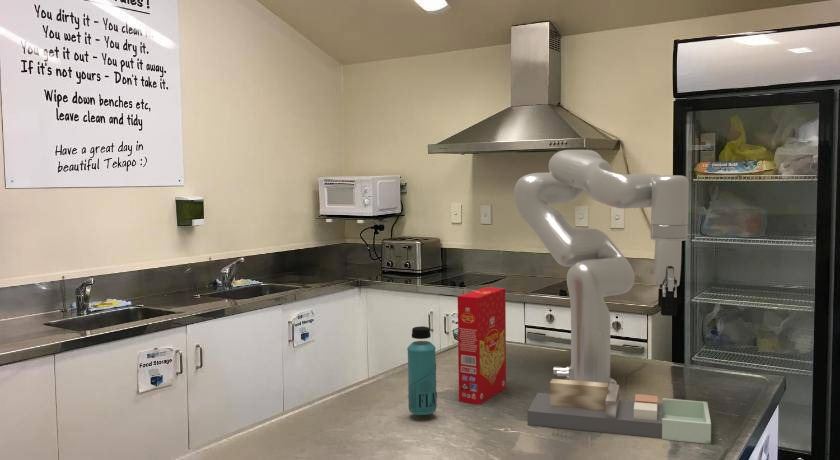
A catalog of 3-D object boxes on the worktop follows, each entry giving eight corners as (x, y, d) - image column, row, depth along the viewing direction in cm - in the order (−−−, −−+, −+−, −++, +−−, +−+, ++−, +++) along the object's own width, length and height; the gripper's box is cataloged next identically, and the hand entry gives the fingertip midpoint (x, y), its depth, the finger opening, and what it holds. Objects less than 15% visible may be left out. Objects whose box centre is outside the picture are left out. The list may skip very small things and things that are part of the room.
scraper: (546, 411, 149) (546, 388, 149) (555, 394, 160) (555, 373, 160) (615, 418, 144) (615, 394, 144) (619, 400, 156) (619, 378, 155)
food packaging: (478, 404, 164) (477, 297, 162) (458, 401, 166) (457, 296, 164) (506, 388, 176) (505, 288, 174) (487, 384, 179) (486, 287, 177)
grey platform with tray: (527, 425, 150) (527, 407, 149) (538, 404, 163) (538, 387, 162) (710, 444, 138) (711, 424, 138) (706, 420, 151) (707, 401, 151)
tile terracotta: (634, 409, 149) (634, 400, 149) (635, 403, 154) (635, 394, 154) (657, 411, 148) (657, 402, 148) (657, 405, 152) (657, 395, 152)
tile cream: (633, 418, 144) (633, 408, 144) (634, 411, 148) (634, 402, 148) (656, 420, 143) (657, 411, 143) (657, 413, 147) (657, 404, 147)
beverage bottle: (416, 423, 152) (414, 332, 150) (402, 414, 158) (401, 326, 156) (442, 418, 155) (441, 328, 153) (428, 409, 161) (427, 323, 159)
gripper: (649, 228, 162) (647, 302, 164) (652, 236, 145) (651, 318, 147) (683, 229, 160) (681, 303, 162) (691, 237, 143) (689, 320, 145)
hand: (667, 310), depth 154 cm, fingers open, 9 cm apart
